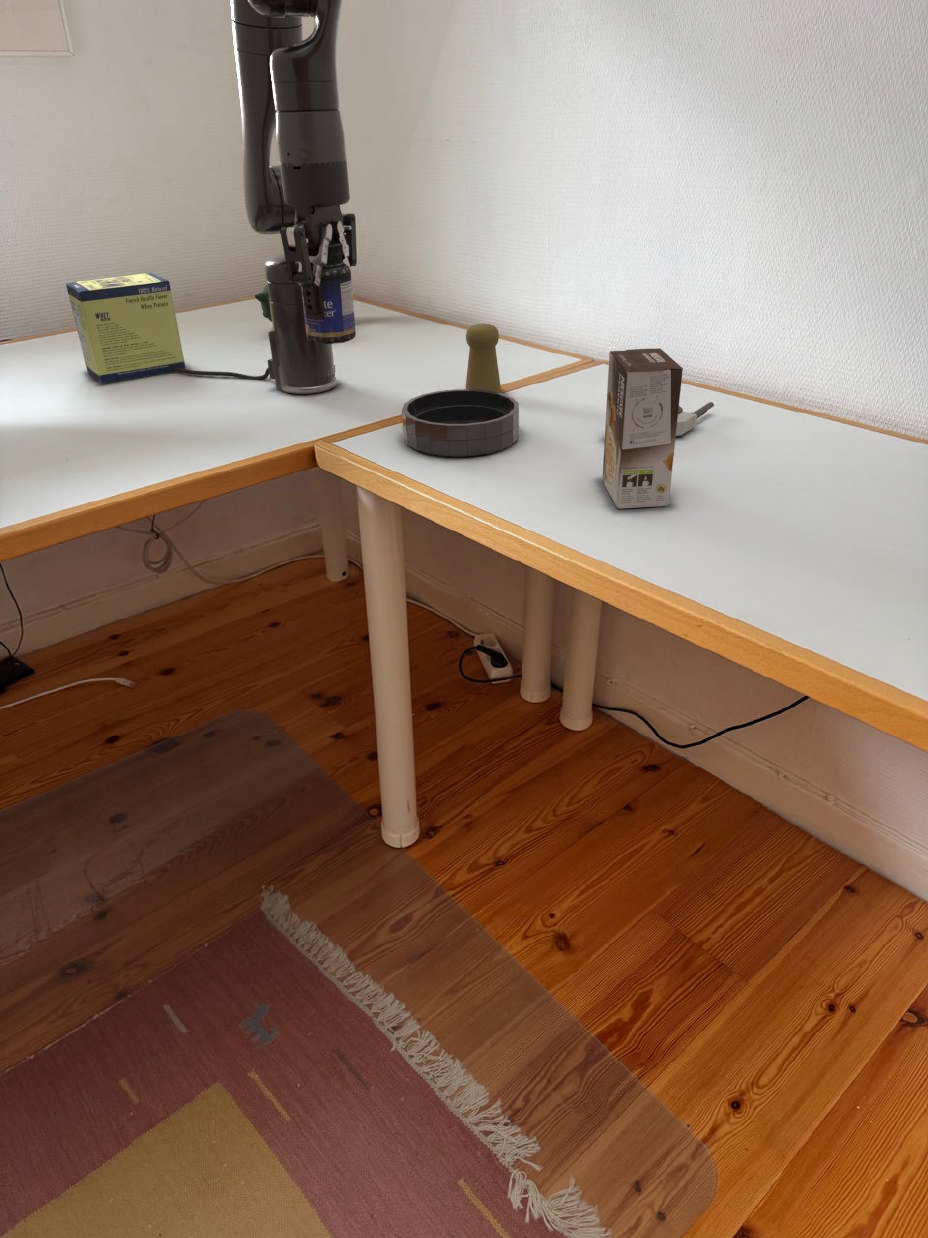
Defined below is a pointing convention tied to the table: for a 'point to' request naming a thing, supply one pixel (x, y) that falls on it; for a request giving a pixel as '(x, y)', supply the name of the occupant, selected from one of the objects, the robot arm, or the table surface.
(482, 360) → the olive brown knobbed cylinder
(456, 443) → the pan
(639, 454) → the coffee box
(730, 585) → the table surface
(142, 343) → the protein box
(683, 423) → the walkie-talkie
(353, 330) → the pill bottle
